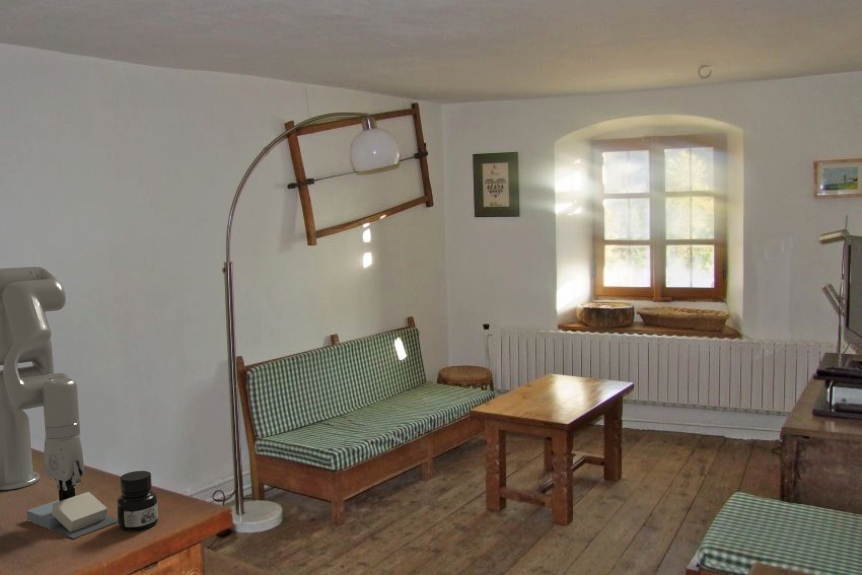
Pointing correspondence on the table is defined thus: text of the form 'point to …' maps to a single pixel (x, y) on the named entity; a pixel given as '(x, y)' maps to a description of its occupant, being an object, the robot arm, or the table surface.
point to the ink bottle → (136, 502)
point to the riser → (43, 515)
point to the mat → (85, 528)
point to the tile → (79, 511)
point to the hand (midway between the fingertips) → (67, 504)
